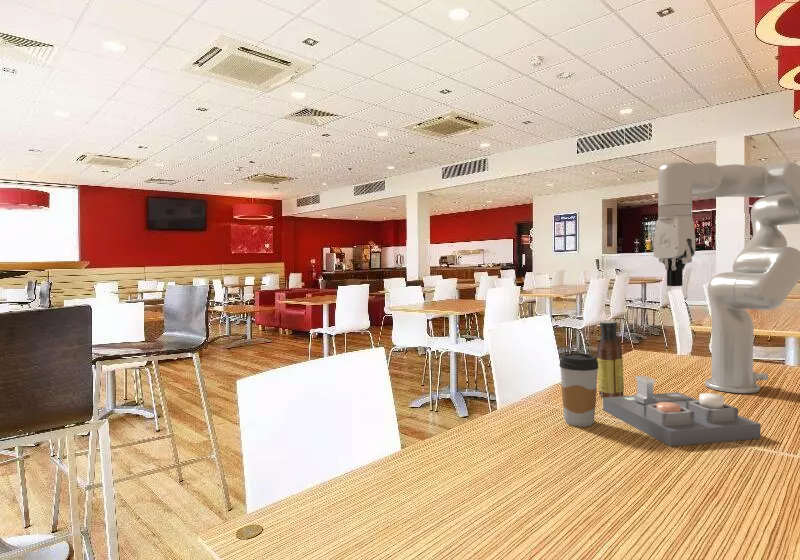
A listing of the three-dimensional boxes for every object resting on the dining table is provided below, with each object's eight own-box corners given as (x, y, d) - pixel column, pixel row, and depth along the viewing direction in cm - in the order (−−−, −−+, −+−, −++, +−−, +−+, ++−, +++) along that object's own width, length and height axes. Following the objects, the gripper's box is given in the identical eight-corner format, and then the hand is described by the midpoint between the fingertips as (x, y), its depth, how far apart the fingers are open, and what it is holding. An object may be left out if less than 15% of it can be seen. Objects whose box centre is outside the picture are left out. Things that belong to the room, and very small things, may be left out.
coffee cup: (600, 418, 117) (599, 353, 116) (597, 430, 110) (597, 361, 109) (562, 414, 121) (561, 351, 120) (557, 425, 113) (556, 358, 112)
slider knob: (645, 398, 121) (646, 375, 120) (656, 403, 117) (657, 379, 117) (633, 399, 120) (633, 376, 120) (644, 404, 116) (644, 380, 116)
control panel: (677, 404, 127) (678, 382, 126) (760, 438, 103) (760, 411, 103) (603, 409, 124) (603, 387, 123) (670, 446, 100) (670, 418, 100)
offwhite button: (712, 403, 110) (712, 392, 110) (728, 409, 106) (729, 398, 106) (694, 404, 110) (694, 393, 109) (709, 411, 105) (710, 399, 105)
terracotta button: (670, 412, 109) (670, 401, 109) (685, 419, 104) (685, 407, 104) (651, 414, 108) (651, 402, 108) (665, 420, 104) (665, 409, 104)
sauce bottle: (619, 393, 137) (619, 319, 136) (627, 399, 131) (627, 323, 130) (594, 393, 138) (594, 320, 137) (601, 399, 132) (600, 323, 131)
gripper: (642, 215, 135) (642, 284, 136) (682, 210, 121) (681, 288, 121) (668, 215, 136) (668, 283, 137) (710, 210, 122) (710, 287, 123)
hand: (674, 285), depth 129 cm, fingers closed
